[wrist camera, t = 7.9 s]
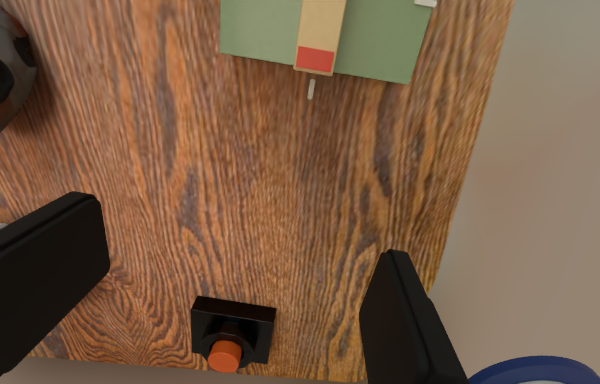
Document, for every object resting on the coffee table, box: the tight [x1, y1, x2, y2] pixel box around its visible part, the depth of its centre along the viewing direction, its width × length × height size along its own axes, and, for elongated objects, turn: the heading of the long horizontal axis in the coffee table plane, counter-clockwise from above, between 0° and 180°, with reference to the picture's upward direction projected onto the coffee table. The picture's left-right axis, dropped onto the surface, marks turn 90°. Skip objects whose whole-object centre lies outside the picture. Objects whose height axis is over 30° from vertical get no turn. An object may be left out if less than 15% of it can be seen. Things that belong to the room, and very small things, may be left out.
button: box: [208, 340, 242, 373], centre depth 33 cm, size 4×4×2 cm
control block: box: [191, 296, 276, 369], centre depth 35 cm, size 10×8×4 cm
